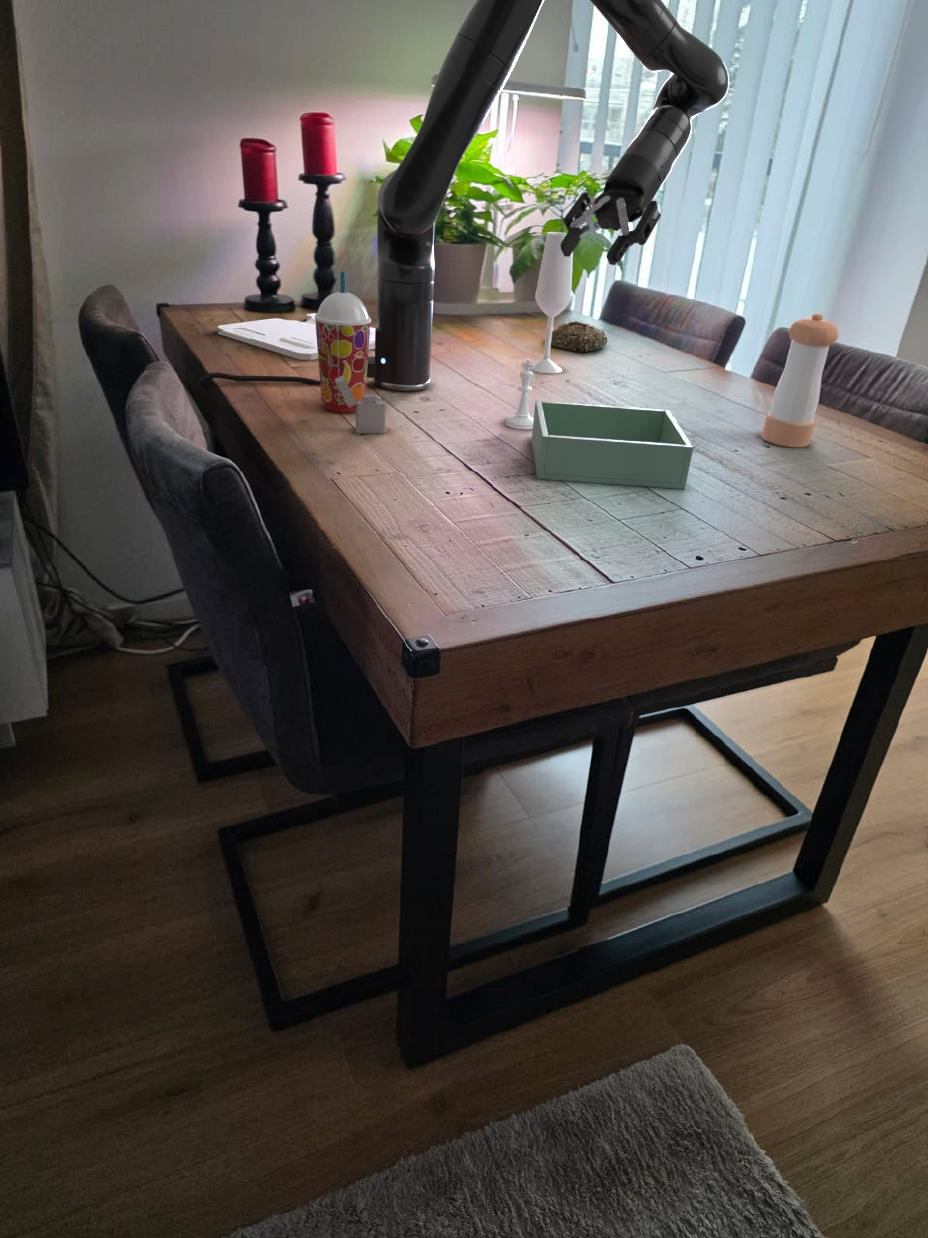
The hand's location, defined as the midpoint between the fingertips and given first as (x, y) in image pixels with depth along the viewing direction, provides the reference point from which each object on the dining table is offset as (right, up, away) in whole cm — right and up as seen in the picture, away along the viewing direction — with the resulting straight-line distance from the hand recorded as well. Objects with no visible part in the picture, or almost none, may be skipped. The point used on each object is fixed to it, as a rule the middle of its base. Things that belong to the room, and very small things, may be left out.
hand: (586, 256), depth 128 cm
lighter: (-34, -27, -4) cm, 44 cm away
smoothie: (-37, -22, +6) cm, 44 cm away
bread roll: (+6, +5, +57) cm, 57 cm away
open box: (+1, -33, -9) cm, 34 cm away
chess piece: (-10, -24, +4) cm, 27 cm away
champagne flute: (-3, -6, +37) cm, 37 cm away
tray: (-49, +3, +46) cm, 68 cm away
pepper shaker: (+32, -26, +7) cm, 42 cm away
